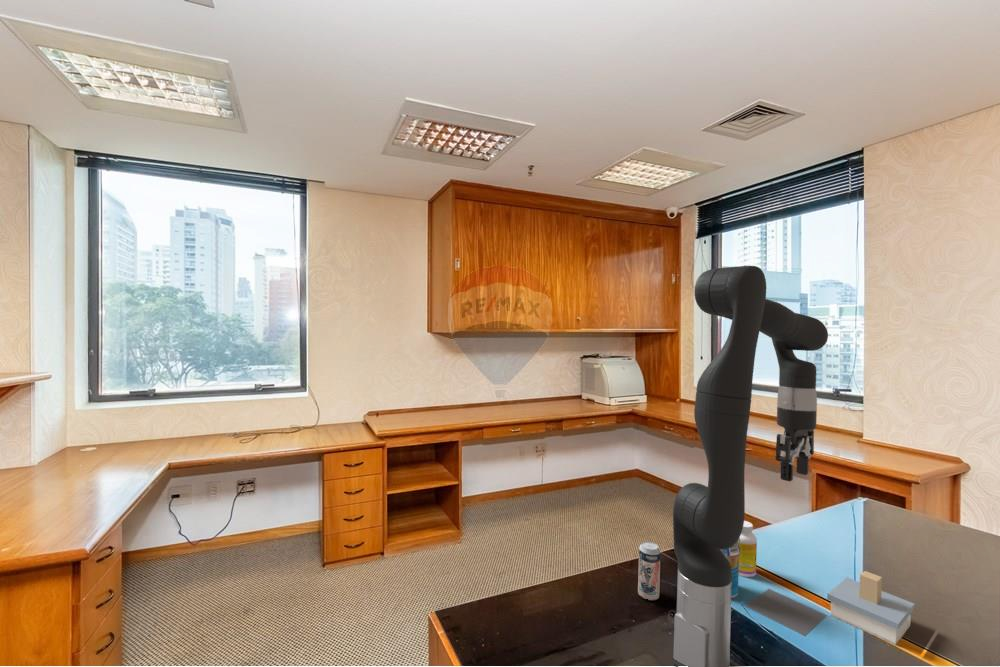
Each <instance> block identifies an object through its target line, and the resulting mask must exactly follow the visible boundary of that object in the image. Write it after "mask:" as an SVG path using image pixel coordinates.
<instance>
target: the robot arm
mask: <svg viewBox="0 0 1000 667" xmlns="http://www.w3.org/2000/svg"><path fill="white" fill-rule="evenodd" d="M695 281H696V282H695V285H694V290H693V291H694V294H693V295H694V299H695V301H696V302H695V303H696V304H697V307H698V308H699V309H700V310H701V311H702V312H704V313H705V314H708V315H712V316H717V317H722V318H725V319H728V320H731V324H730V328H729V332H728V335H727V338H726V340H725V342H724V344H723V346H722V347H721V349H720V350H719V352H718V353H717V355H715V356H714V358H713V359H712V360H711V362H709V364H708V365H707V366H706V368H705V369H704V370H703V372H702V373H701V375H700V377H699V379H698V380H697V385H696V388H695V389H696V391H695V392H696V393H695V401H694V410H693V413H694V414H693V416H694V423H695V427H696V430H697V434H698V436H699V440H700V442H701V445H702V447H703V449H704V450H703V451H704V452H705V457H706V461H707V468H708V480H707V481H708V482H707V483H708V484H707V486H706V485H704V484H701V483H698V482H689V483H687V484H685V485H683V487H681V488H680V489H679V490H678V492H677V494H676V495H675V498H674V503H673V508H672V509H673V511H672V525H673V526H672V528H673V529H672V533H673V535H672V536H673V551H674V554H675V557H676V559H677V589H676V613H675V614H674V618H673V619H674V625H673V628H674V629H673V630H674V631H673V658H674V659H675V660H677V661H678V662H680V663H682V664H684V665H686V666H688V667H730V661H731V660H730V657H731V656H730V655H731V652H730V650H731V615H732V598H731V588H732V568H731V564H730V562H729V561H728V559H727V558H726V556H725V555H724V554H723V553H722V551H721V550H720V549H728V548H730V547H732V546H733V545H734V544H735V543H736V542H737V541H738V539H739V537H740V535H741V533H742V529H743V525H744V521H745V516H746V515H745V513H746V512H745V511H746V509H745V506H746V503H745V502H746V501H745V500H746V499H745V498H746V497H745V493H746V492H745V468H746V467H745V466H746V464H745V463H746V454H747V453H746V452H747V451H746V450H747V439H748V438H747V436H748V429H749V421H750V415H751V408H752V407H751V405H752V404H751V403H752V395H753V394H752V393H753V379H754V377H753V376H754V370H755V369H754V367H755V359H756V352H757V346H758V340H759V335H760V333H762V334H764V335H765V336H767V337H768V338H770V339H771V341H772V342H771V343H772V344H773V348H774V351H775V355H776V358H777V364H778V368H779V369H778V370H779V377H778V378H779V379H778V389H777V390H778V391H777V397H776V398H777V401H776V402H777V403H776V424H777V426H779V427H782V428H783V430H784V431H783V434H780V433H777V434H776V441H775V442H776V444H775V445H776V446H775V461H777V462H779V463H780V479H781V480H783V481H785V482H791V481H792V482H793V479H794V462H795V458H796V470H795V471H796V473H797V474H800V475H802V476H803V475H804V476H807V475H808V474H809V463H810V461H809V460H810V459H811V456H813V455H815V454H814V453H815V451H814V450H815V447H814V445H815V443H814V442H815V439H814V438H815V431H814V430H816V428H817V415H818V413H817V410H818V408H817V407H818V397H817V396H818V395H817V366H816V365H815V363H814V362H810V361H807V360H802V359H800V358H798V357H797V356H796V354H795V353H794V351H807V352H808V351H810V352H811V351H812V352H813V351H817V350H818V351H819V350H820V349H822V348H823V347H824V346H825V345H826V344H827V342H828V338H829V331H828V329H827V327H826V325H825V324H824V323H823V322H822V321H821V320H819V319H818V318H815V317H812V316H809V315H805V314H803V313H802V314H801V313H797V312H794V311H793V310H792V309H790V308H788V307H787V306H786V305H784V304H782V303H780V302H777V301H774V300H770V299H768V298H767V278H766V276H765V273H764V271H763V270H762V269H761V268H760V267H759V266H756V265H739V266H728V267H727V266H726V267H717V268H712V269H708V270H706V271H704V272H702V273H701V274H700V275H699V276H698V277H697V279H696V280H695Z"/></svg>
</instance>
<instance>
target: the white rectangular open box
mask: <svg viewBox="0 0 1000 667" xmlns="http://www.w3.org/2000/svg"><path fill="white" fill-rule="evenodd" d="M911 614H912V613H911ZM911 614H910V616H909V617H908V618H907V619H906V621H905V622H904V623H903V624H902V626H901V627H900V628H899V629H898V630H897V629H895V628H892V627H890V626H888V625H886V624H883V623H881V622H879V621H876V620H874V619H872V618H869V617H867V616H865V615H863V614H860V613H858V612H856V611H853V610H851V609H849V608H846V607H844V606H842V605H840V604H837V603H835V602H833V601H830V617H833V618H835V619H837V620H838V621H840V622H843V623H846V624H847V625H850V626H852V627H854V628H856V629H858V630H861V631H863V632H865V633H867V634H869V635H872V636H874V637H876V638H878V639H880V640H883V641H884V642H886V643H889V644H892V645H893V646H896V645H897V644H898V643H899V641H900V640H901V639H902V638H903V636H904V635H905V633H906V632H907V630H908V629H909V628H910V626H911V619H912V618H911V617H912V616H911Z"/></svg>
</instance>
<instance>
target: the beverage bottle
mask: <svg viewBox="0 0 1000 667" xmlns="http://www.w3.org/2000/svg"><path fill="white" fill-rule="evenodd" d="M739 542H740V538H739V539H738V541H737V542H736V543H735V544H734V545H733V546H732V547H730V548H728V549H720V550H721V551H722V553H723V554H724V555H725V556H726V558H727V559H728V561H729V562H730V564H731V568H732V588H731V599H733V598H735V597H737V596H738V595H739V555H740V547H739V545H738V543H739Z"/></svg>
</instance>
